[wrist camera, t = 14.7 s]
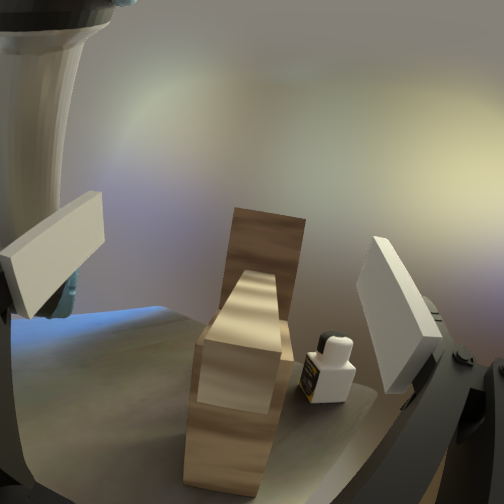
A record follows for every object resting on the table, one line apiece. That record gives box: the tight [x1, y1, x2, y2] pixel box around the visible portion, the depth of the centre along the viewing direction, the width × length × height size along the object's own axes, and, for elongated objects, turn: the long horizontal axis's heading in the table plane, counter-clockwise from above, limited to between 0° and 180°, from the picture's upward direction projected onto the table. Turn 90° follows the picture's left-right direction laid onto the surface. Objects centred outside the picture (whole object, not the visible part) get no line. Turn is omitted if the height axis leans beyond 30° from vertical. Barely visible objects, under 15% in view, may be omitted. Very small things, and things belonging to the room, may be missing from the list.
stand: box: [219, 208, 306, 321], centre depth 53 cm, size 18×10×30 cm, turn 177°
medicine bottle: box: [299, 331, 356, 403], centre depth 51 cm, size 7×7×12 cm
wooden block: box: [197, 270, 282, 414], centre depth 28 cm, size 26×4×4 cm, turn 177°
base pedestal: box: [183, 309, 294, 497], centre depth 30 cm, size 11×8×18 cm
